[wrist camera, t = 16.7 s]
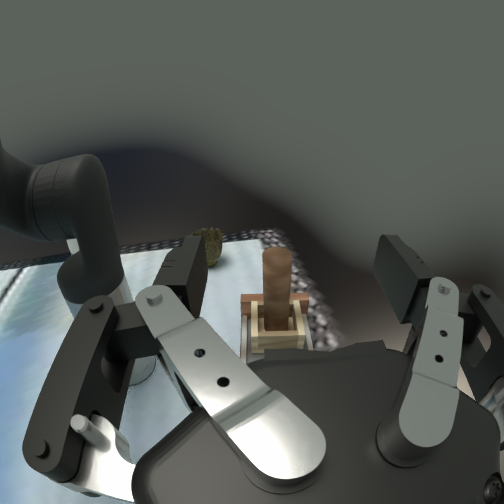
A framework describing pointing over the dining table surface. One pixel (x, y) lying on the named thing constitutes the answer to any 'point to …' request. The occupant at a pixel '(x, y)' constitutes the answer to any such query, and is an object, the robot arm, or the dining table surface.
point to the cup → (211, 244)
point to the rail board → (245, 344)
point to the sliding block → (276, 338)
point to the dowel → (276, 288)
